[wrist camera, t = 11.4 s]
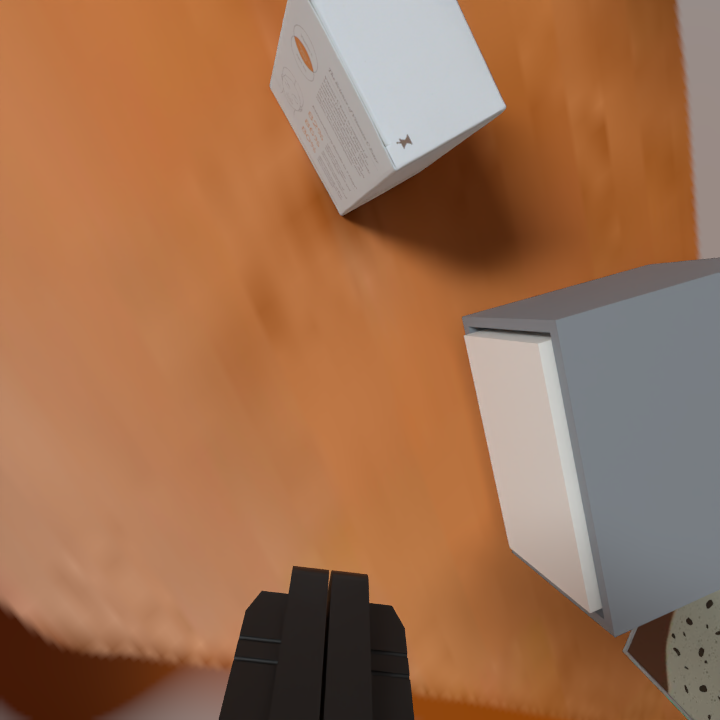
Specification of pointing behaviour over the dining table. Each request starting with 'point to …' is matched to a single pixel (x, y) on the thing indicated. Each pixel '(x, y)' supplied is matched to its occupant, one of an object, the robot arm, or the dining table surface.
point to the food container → (683, 656)
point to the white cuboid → (533, 457)
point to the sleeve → (639, 428)
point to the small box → (379, 89)
